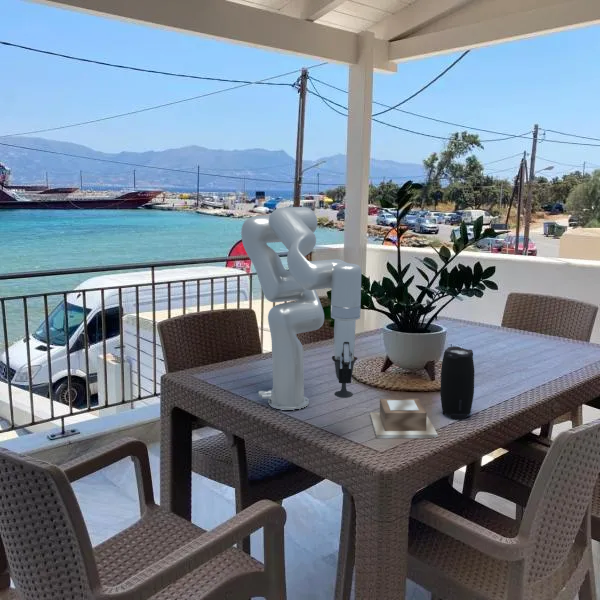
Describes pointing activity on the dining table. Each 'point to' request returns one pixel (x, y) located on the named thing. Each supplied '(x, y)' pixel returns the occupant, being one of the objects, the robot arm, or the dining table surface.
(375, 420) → the pedestal
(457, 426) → the dining table surface
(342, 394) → the sundae
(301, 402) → the robot arm
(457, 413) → the portable speaker
